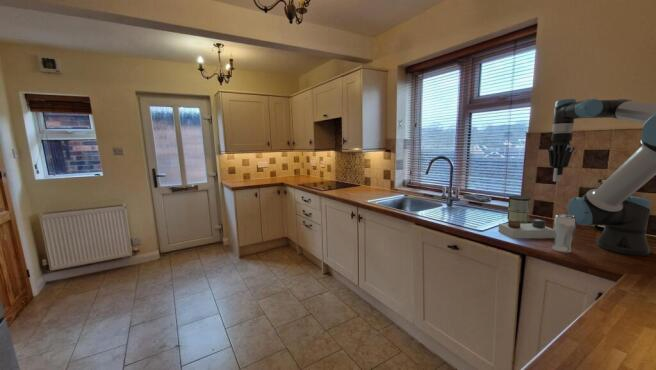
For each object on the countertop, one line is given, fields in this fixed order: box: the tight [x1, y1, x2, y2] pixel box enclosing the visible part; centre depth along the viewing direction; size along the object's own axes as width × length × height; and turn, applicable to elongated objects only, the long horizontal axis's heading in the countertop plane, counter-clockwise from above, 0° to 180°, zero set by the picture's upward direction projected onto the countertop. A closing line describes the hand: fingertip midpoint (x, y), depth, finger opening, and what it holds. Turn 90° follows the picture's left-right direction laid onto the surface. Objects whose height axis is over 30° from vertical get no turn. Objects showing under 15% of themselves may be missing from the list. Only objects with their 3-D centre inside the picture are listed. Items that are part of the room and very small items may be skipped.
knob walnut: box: [507, 219, 522, 228], centre depth 132 cm, size 5×5×6 cm
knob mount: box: [498, 222, 554, 239], centre depth 132 cm, size 11×20×4 cm, turn 89°
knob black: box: [531, 218, 546, 228], centre depth 131 cm, size 5×5×6 cm
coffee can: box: [507, 195, 531, 224], centre depth 156 cm, size 10×10×14 cm
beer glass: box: [551, 213, 577, 254], centre depth 111 cm, size 7×7×15 cm
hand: (556, 181), depth 131 cm, fingers closed
